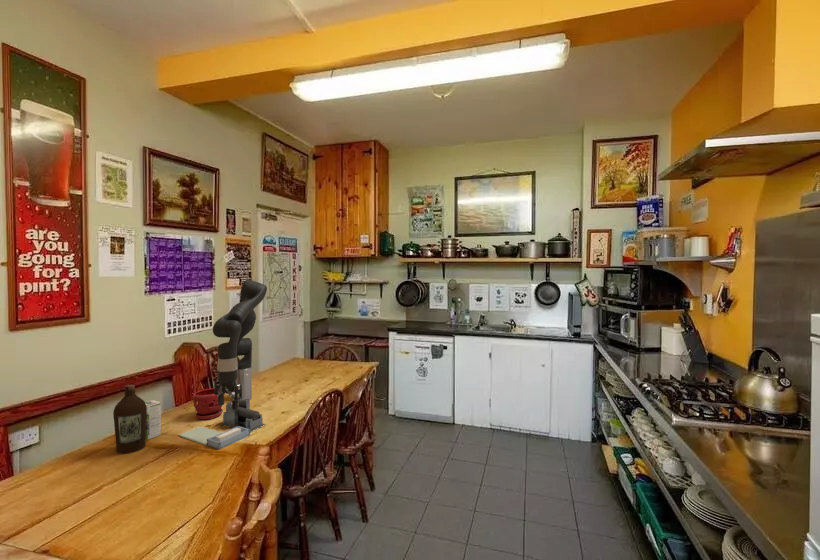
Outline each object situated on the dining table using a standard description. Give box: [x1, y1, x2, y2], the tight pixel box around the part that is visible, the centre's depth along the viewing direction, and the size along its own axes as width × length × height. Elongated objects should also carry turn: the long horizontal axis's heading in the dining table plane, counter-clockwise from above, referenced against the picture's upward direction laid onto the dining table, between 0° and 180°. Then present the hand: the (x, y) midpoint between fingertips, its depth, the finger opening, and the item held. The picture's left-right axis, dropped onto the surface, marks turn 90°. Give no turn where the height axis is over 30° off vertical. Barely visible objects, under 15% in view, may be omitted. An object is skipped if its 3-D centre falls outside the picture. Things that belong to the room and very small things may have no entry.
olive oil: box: [112, 384, 147, 454], centre depth 151 cm, size 11×11×25 cm
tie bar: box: [216, 428, 241, 442], centre depth 159 cm, size 3×10×3 cm, turn 153°
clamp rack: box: [220, 397, 266, 433], centre depth 174 cm, size 19×8×11 cm, turn 62°
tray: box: [206, 426, 251, 450], centre depth 159 cm, size 8×15×2 cm, turn 152°
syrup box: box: [144, 399, 162, 440], centre depth 163 cm, size 6×6×14 cm
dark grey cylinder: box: [238, 407, 261, 420], centre depth 174 cm, size 18×4×4 cm, turn 62°
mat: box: [177, 425, 223, 446], centre depth 163 cm, size 18×10×1 cm, turn 62°
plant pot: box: [192, 387, 225, 420], centre depth 185 cm, size 13×13×12 cm
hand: (228, 407), depth 159 cm, fingers open, 8 cm apart
